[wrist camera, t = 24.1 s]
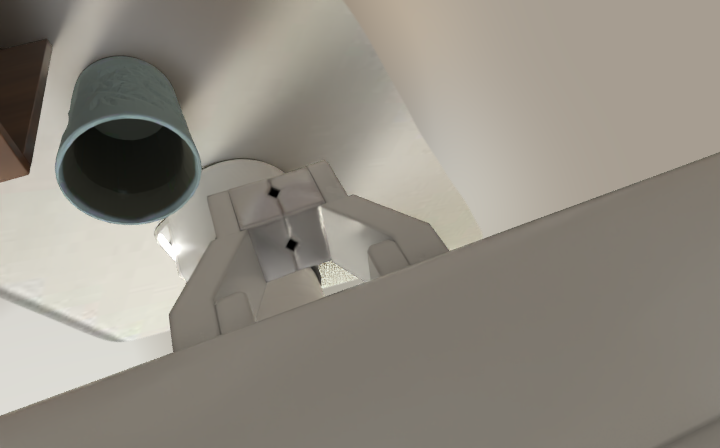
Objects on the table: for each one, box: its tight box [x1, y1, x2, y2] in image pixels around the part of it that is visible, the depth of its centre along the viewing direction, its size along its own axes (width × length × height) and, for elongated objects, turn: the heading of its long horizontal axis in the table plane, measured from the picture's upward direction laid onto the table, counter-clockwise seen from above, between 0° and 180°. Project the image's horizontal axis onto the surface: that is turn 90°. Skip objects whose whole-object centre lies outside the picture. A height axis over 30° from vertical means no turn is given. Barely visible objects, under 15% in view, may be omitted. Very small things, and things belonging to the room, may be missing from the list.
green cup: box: [55, 56, 202, 225], centre depth 42 cm, size 10×10×12 cm
